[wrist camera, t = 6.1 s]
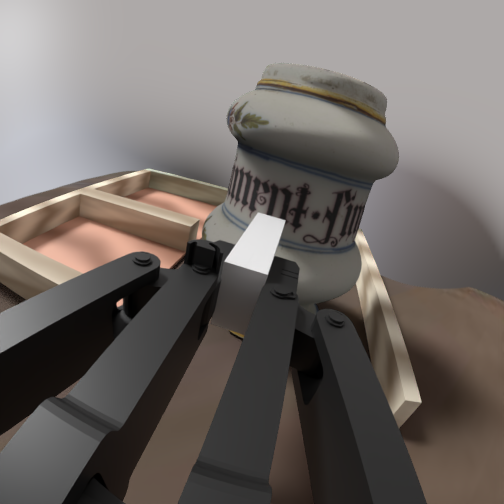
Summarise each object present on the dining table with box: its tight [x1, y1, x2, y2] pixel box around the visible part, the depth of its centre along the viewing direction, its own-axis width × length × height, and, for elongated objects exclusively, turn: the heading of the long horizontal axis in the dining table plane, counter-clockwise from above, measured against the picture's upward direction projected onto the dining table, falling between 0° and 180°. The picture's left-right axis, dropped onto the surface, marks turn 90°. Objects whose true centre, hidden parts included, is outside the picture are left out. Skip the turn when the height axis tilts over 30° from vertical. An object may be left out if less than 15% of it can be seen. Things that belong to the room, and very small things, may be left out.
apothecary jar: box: [202, 63, 399, 339], centre depth 21 cm, size 12×12×18 cm
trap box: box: [0, 169, 422, 428], centre depth 31 cm, size 32×34×3 cm
